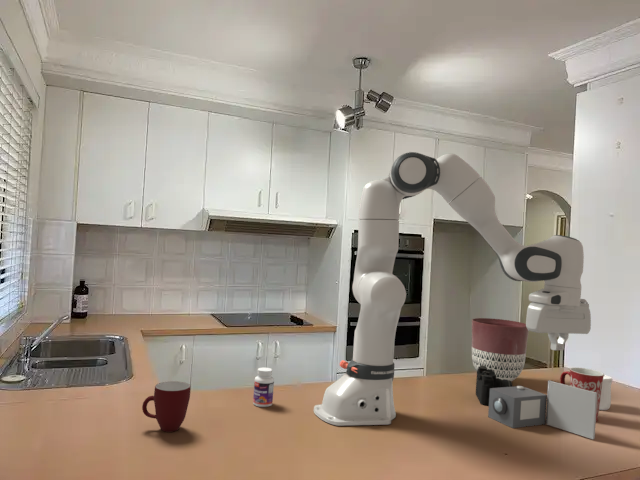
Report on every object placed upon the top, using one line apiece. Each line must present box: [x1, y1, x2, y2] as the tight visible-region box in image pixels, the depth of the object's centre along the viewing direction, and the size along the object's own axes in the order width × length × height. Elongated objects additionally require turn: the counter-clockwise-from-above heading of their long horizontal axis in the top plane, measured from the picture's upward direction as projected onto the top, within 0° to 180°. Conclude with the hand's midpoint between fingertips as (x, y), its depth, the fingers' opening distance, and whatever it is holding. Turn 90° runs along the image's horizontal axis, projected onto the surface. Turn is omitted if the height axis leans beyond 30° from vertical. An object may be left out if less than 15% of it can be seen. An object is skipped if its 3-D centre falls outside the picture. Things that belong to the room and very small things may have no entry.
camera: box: [475, 365, 514, 407], centre depth 160 cm, size 14×11×10 cm
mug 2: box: [559, 367, 605, 422], centre depth 150 cm, size 13×9×14 cm
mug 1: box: [141, 380, 191, 433], centre depth 119 cm, size 11×8×10 cm
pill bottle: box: [252, 367, 275, 408], centre depth 141 cm, size 5×5×10 cm
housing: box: [487, 385, 547, 429], centre depth 141 cm, size 13×9×9 cm
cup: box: [599, 374, 613, 411], centre depth 161 cm, size 10×10×10 cm
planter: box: [471, 317, 530, 382], centre depth 184 cm, size 20×20×21 cm
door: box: [545, 379, 597, 440], centre depth 135 cm, size 13×2×12 cm, turn 38°
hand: (556, 350), depth 134 cm, fingers closed
